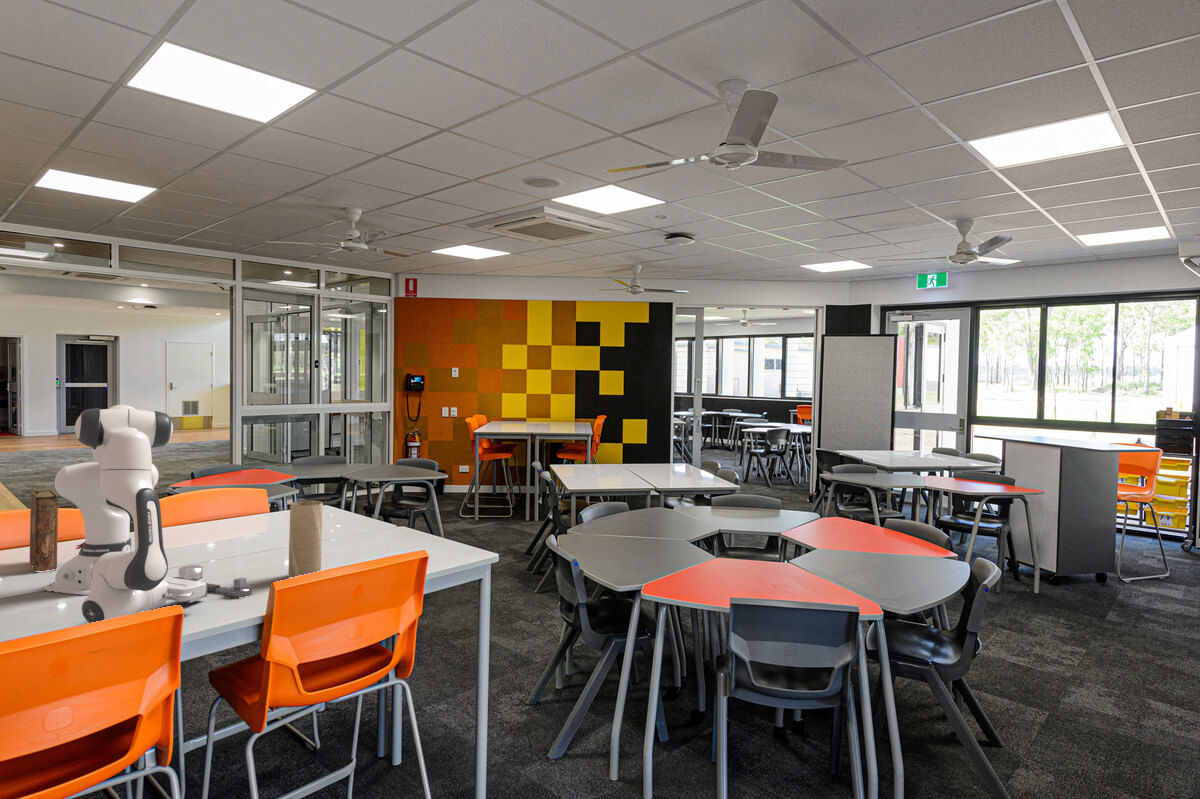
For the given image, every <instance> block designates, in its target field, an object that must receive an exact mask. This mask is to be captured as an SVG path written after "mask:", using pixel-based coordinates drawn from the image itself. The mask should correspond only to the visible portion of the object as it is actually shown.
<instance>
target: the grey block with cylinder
mask: <svg viewBox="0 0 1200 799" xmlns="http://www.w3.org/2000/svg"><path fill="white" fill-rule="evenodd" d="M178 576H179V579H185V580H192V581H197V579H200V578H203V579H204V566H203V565H200V564H193V565H185V566H182V567H179V569H178ZM208 584H209V583H208V582H206V593H205V595H204V596H201V597H198V598H195V599H191V600H188V601H179V602H181V603H187V604H190V603H193V602H196V601H199V600H202V599H204V598H206V597H208V592H207V587H208Z"/></svg>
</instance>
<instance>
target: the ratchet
mask: <svg viewBox="0 0 1200 799" xmlns="http://www.w3.org/2000/svg"><path fill="white" fill-rule="evenodd" d="M210 592H212V593H211V594H219V593H224V594H223V595H227V594H228V595H227V597H230V598H229V599H233V598H237V599H240V598H239V597H244V598H246V597H245V596H248V597H250V596H252V594H253V592H252V586H251V585H247V578H246V577H240V576H239V577H237V578H235V579H233V586H231V587H225V586H221V585H220V584H214V583H213V584H212V583H208V587H207V593H210ZM249 595H250V596H249Z"/></svg>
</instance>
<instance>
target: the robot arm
mask: <svg viewBox="0 0 1200 799" xmlns="http://www.w3.org/2000/svg"><path fill="white" fill-rule="evenodd" d="M173 431H174V424H173V422H172V418H171V417H170V416H169V415H168V414H167V413H165V412H162V411H158V410H155V411H150V410H143V409H137V408H135V407H133V406H132V405H129V404H117V405H113V406H111V407H109V408H105V409H103V408H102V409H100V408H89V409H84V410H83V411H82V412H80V414H79V416H78V418H77V419H76V422H75V425H74V432H75V436H76V438H77V441H78V442H79V443H81V444H82V445H83V446H87V447H90V448H92V449H91V453H92V454H91V455H92V456H93V459H95V462H93V461H92V462H82V463H81V462H80V463H75V464H74V463H73V464H69V465H67V466H66V465H65V466H63V467H62V468H61V469H60V470H59V471H58V472H57V474H56V475H55V478H54V488H55V490H56V492H57V494H58V495H60V496H61V498H64V499H66V500H68V501H70V502H71V503H72V504H73V505H75V506H76V507H77V509H79V511H80V513H81V514H82V517H83V524H84V542H81V544H80V543H79V544H77V545H75V547H76V548H75V550H79V549H80V550H79V551H78V554H77V555H75V557H73V558H72V559H70V560H68V561H67V562H66V563H64V564H63V565H62V566H60V567H59V568H57V571H56V574H55V580H54V582H51V583H49V584H47V585H46V586H45V588H44V591H45V590H47V591H46V592H51V591H54V592H53V593H60V592H61V594H69V595H78V594H79V595H80V596H86V598H85V599H84V601H83V602H82V604H81V613H82V616H83V618H84V619H85V620H86V622H88V623H89V624H91V622H96V621H101V620H105V619H110V618H115V617H119V616H124V615H129V614H134V613H138V612H141V611H147V610H152V609H155V610H157V609H160V608H162V607H163V606H164V605H165V604H166V603H167V600H169V601H175V602H180V601H188V600H191V599H195V598H198V597H201V596H204V595H205V593H206V583H207V582H206V578H204V577H203V578H200V579H197V581H192V580H185V579H179V575H176V576H167V574H168V571H169V562H168V558H167V555H166V552H165V546H164V538H163V536H164V534H163V524H162V512H161V502H160V498H159V495H158V492H156V491H155V489H154V488H155V487H156V485H157V484H158V481H159V479H160V478H159V477H160V476H159V471H158V468H157V466H155V464H153V462H152V461H153V459H152V458H153V457H152V456H153V455H152V448H154V449H155V448H161V447H164V446H166V445H167V444H168V443H169V441H170V439H171V438H172V437H173V436H172V435H173V433H174V432H173ZM107 501H108V502H111V504H114V505H116V506H119V507H121V508H119V507H116V506H114V505H110V504H108V503H107ZM122 508H123V509H122ZM130 516H131V518H132V520H133V532H134V533H133V534H134V550H133V551H132V538H131V537H130V531H131V530H130V529H131V528H130V527H131V525H130V524H131V523H130V522H131V518H130ZM156 608H157V609H156ZM152 611H153V610H152Z"/></svg>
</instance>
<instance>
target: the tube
mask: <svg viewBox="0 0 1200 799" xmlns="http://www.w3.org/2000/svg"><path fill="white" fill-rule="evenodd" d="M323 504H324V503H323V501H320V500H309V499H308V500H299V501H293V502H290V504H289V505H290V506H289V507H290V508H289V533H288V534H289V539H288V540H289V542H288V572H287V573H288V574H287V576H288V578H287V579H289V578H290V577H295V576H299V575H304V574H308V573H313V572H317V571H320V570H321V571H322V548H323V547H322V544H323V543H322V542H323V512H324V511H323V510H324V508H323V507H324V506H323Z"/></svg>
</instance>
